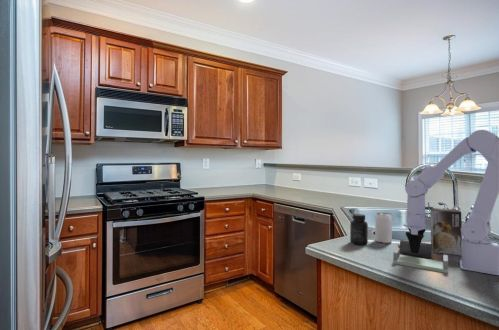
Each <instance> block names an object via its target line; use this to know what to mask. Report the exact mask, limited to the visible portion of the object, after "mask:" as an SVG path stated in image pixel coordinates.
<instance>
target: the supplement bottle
mask: <svg viewBox="0 0 499 330" xmlns="http://www.w3.org/2000/svg"><path fill="white" fill-rule="evenodd" d="M368 226H369V225H368V222H367V221H366V215H365V214H361V213H354V214H352V220H351V221H350V225H349V232H350V235H349V236H350V237H349V238H350V239H349V240H350V241H349V242H350V244H352V245H354V246H362V247H363V246H367V245H368V244H369V243H368V241H369V240H368V239H369V238H368V237H369V233H368V232H369V227H368Z"/></svg>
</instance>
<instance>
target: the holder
mask: <svg viewBox="0 0 499 330" xmlns="http://www.w3.org/2000/svg"><path fill="white" fill-rule="evenodd" d="M392 255H393V256H392V257H393V259H392V263H393V264H394V265H401V266H405V267H406V266H407V267H411V268H417V269H422V270H428V271H433V272H439V273H444V274H448V273H449V254H443V256H442V257H443V261H441V260H437V259H435V260H434V259H431V258H425V257H419V256H412V255H406V254H401V253H400V248H398V247H395V248H394V251H393V253H392Z"/></svg>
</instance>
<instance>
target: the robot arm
mask: <svg viewBox="0 0 499 330" xmlns="http://www.w3.org/2000/svg"><path fill="white" fill-rule="evenodd" d="M474 153H479V154H481V156H482V157H483V158H484V159H485V160H486V162H487V166H486V168H485V172H484V175H483V177H482V180H481V184H480V187H479V190H478V192H477V196H476V198H475V200H474V204H473V208H472V210H471V212H470V214H469V216H468V218H467V220H466V222H465V223H463V224H461V233H462V255H461V260H459V267H460V268H459V269H461V270H466V271H471V272H477V273H484V274H488V275H489V274H490V275H495V276H499V244H498V243H495V242H491V240H490V239H489V237H488V236H489V235H490V233H491V230H492V229H491V223H490V222H491V220H492V212H493V210H494V207H495V204H496V201H497V198H498V196H499V137H498V135H496V134H495V133H494V132H491V131H489V130H486V129H478V130H474V131H473V132H471V133H470V135H469V136H466V137H464V138H463V139H462V140H461V141H460V142H459V143H457V145H455V146H454V147H453V148H452V150H450V151H449V152H447V154H446V155H445V156H444V157H443V158H441V160H440V161H438V163H436V164H430V165H429V166H428V165H427V166H424V167H423V171H421V172H420V173H419V174H418V175H415V176H414V177H413V180H409V181H408V182H407V183H406V184H405V187H404V190H405V193H406V194H407V200H406V202H407V203H406V205H407V206H406V221H407V222H406V223H405V222H404V223H403V227H406V228H407V229H408V231H406V232H405V236H406V238H407V241H409V244H410V249H411V253H417V254H418V252H419V248H420V243H422V240H423V238H424V237H425V232H426V228H427V225H426V195H427V193H428V192H429V189H431V188H432V187H434V186H435V185H436V184H437V183H439V181H441V180H442V179H443V178H444V177H445V171H446V170H448V169H449V168H450V167H452V166H453V165H454V164H456V162H458V161H459V160H460V159H462V158H463V157H464V156H466V155H467V156H468V155H470V154H474Z"/></svg>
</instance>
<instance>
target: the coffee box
mask: <svg viewBox="0 0 499 330" xmlns="http://www.w3.org/2000/svg"><path fill="white" fill-rule="evenodd" d="M461 227H462V211H460V210H458V209H450V208H436V207H435V208H434V207H433V208H432V207H430V244H432V253H436V254H443V255H455V256H462V237H463V235H462V233H461Z"/></svg>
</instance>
